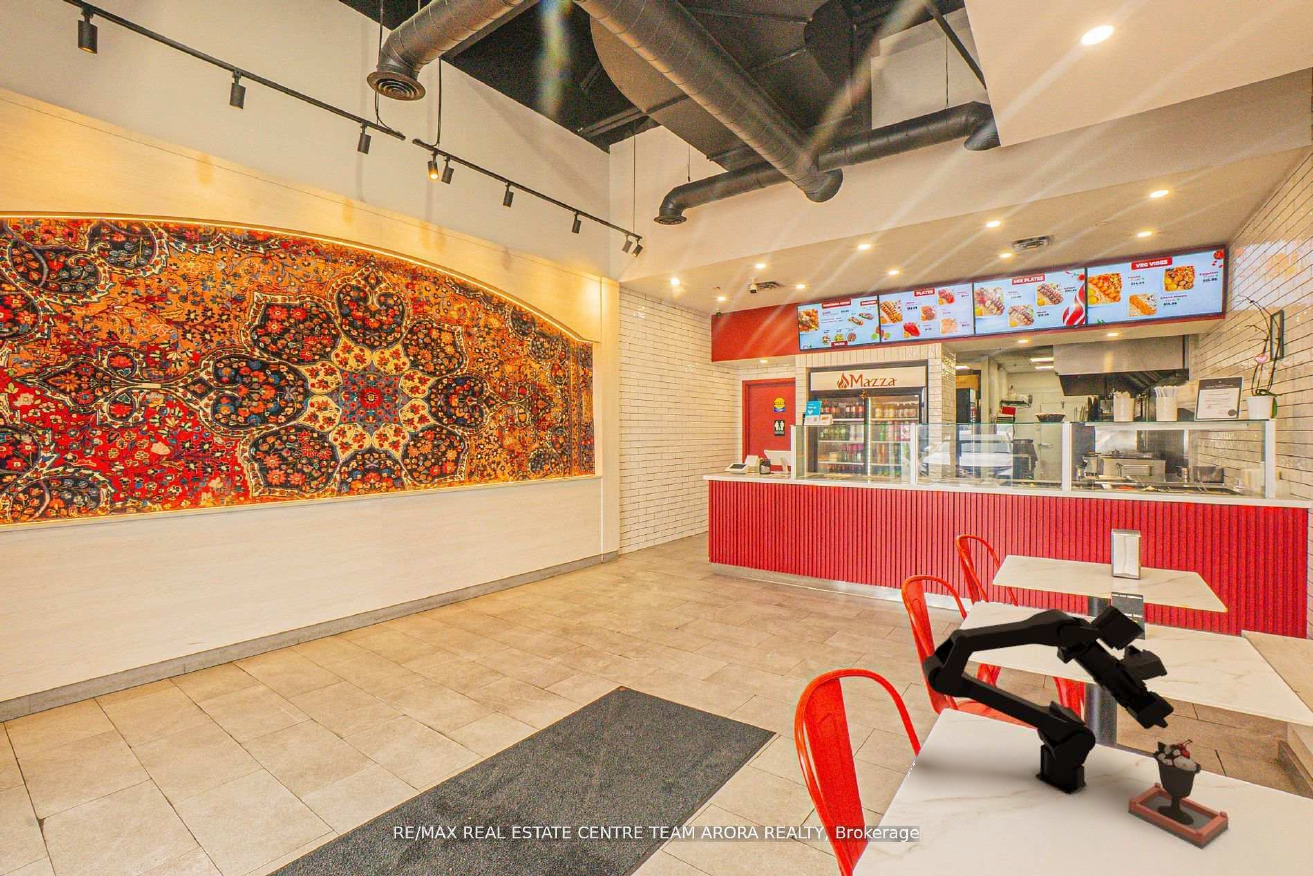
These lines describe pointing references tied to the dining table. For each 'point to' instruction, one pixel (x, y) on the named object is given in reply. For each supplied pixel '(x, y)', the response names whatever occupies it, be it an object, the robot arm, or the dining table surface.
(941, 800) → the dining table surface
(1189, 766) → the sundae
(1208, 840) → the baseplate
